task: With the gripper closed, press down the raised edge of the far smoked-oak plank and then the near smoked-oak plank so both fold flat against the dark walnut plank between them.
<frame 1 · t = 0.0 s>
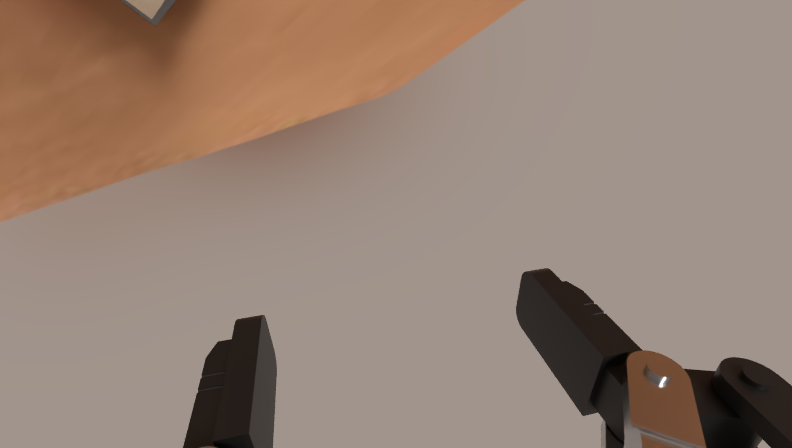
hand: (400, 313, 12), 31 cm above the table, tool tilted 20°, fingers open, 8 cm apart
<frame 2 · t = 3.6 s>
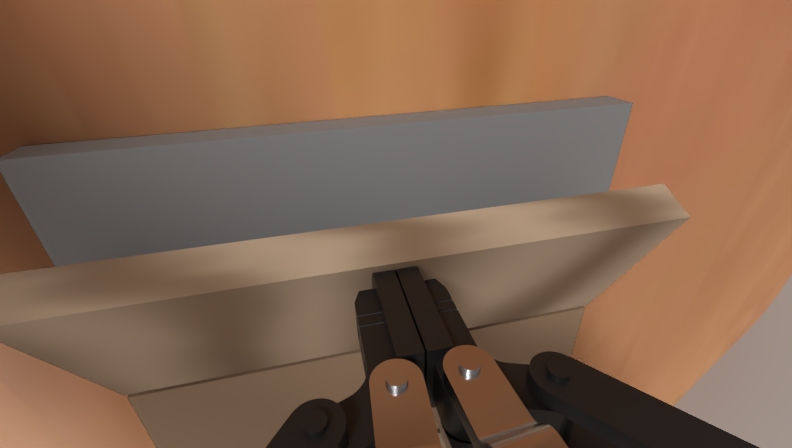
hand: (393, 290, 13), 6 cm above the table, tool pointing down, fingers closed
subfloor: (373, 353, 23), on the table
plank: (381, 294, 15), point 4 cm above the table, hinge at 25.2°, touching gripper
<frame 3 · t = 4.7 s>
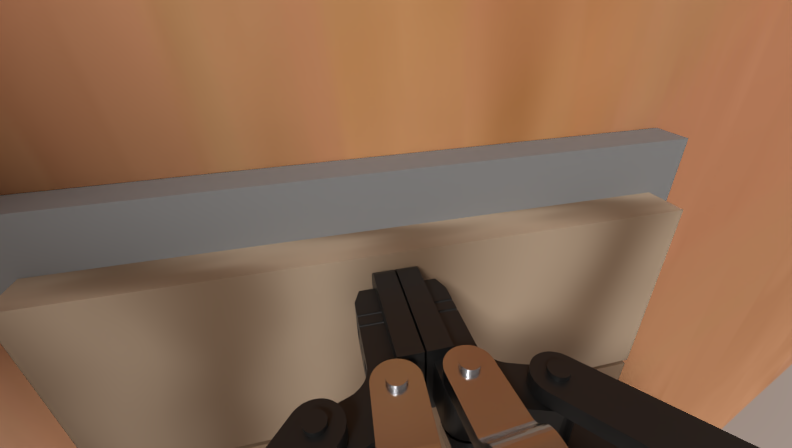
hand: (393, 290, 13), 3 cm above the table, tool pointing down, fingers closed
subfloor: (384, 407, 21), on the table
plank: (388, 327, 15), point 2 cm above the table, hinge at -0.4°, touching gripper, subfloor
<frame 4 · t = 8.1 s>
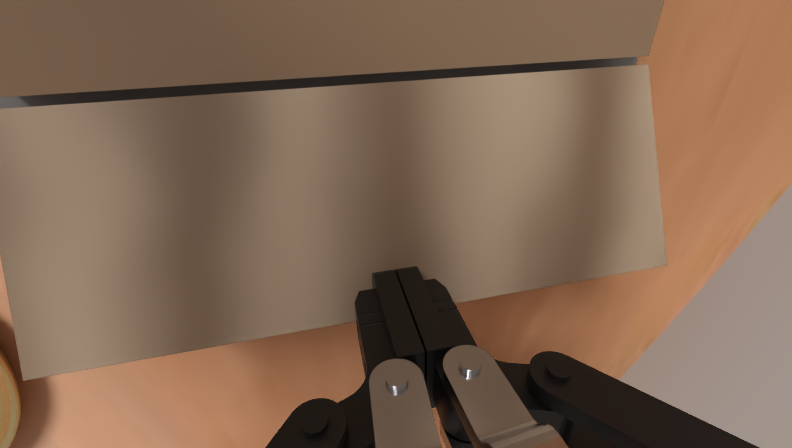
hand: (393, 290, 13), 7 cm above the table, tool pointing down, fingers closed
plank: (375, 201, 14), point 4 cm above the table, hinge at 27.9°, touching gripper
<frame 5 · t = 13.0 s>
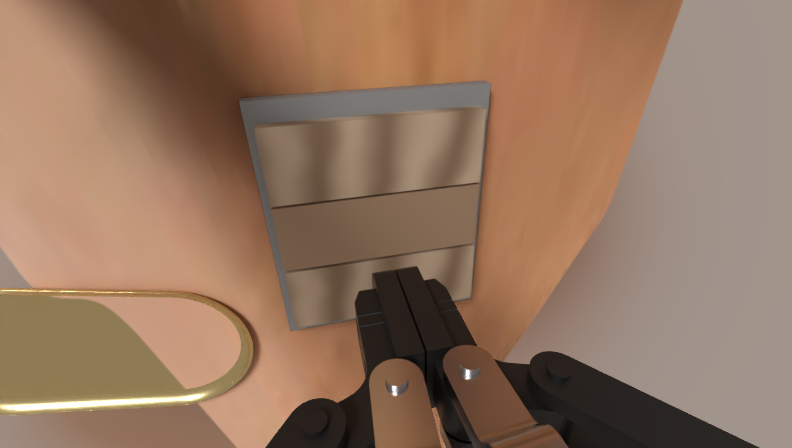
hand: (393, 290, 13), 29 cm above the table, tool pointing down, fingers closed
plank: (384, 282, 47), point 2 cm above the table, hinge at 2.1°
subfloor: (376, 214, 45), on the table
serving platter: (97, 344, 46), on the table
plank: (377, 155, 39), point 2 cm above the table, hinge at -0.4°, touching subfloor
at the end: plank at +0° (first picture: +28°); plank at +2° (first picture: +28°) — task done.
